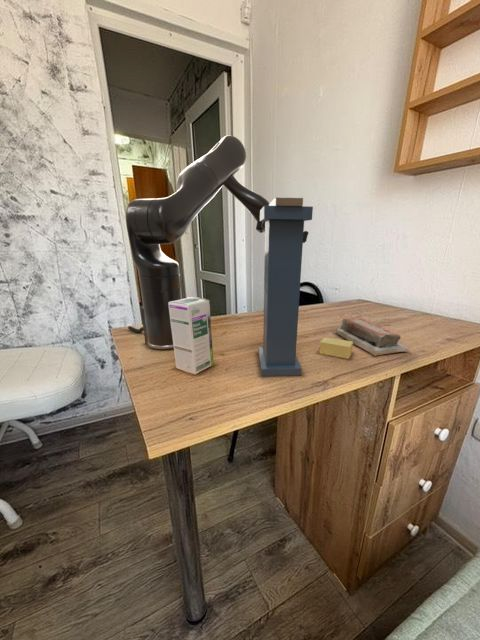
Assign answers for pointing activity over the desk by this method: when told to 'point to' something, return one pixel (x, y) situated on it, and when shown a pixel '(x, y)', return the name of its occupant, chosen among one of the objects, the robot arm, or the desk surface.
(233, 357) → the desk surface
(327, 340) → the butter block
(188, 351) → the syrup box
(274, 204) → the brown and white slab
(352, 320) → the plastering float
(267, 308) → the square pillar stand
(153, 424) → the desk surface
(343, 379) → the desk surface
